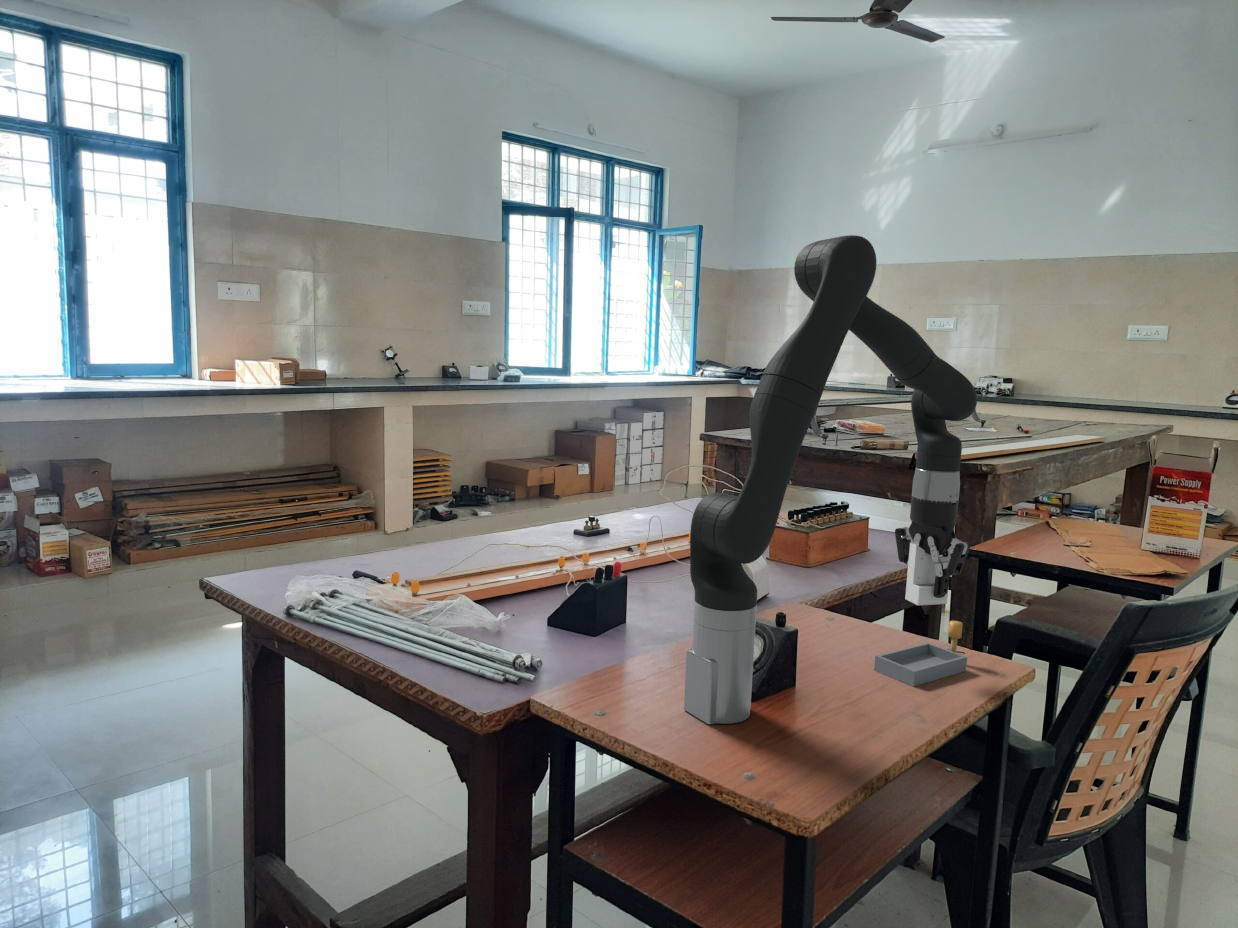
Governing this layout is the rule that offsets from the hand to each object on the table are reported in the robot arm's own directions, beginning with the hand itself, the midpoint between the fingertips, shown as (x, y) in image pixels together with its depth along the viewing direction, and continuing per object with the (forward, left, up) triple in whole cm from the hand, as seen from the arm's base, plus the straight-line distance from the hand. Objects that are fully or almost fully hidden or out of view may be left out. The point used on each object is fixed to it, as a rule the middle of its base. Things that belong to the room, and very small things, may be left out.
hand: (926, 592), depth 149 cm
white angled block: (0, 0, -2) cm, 2 cm away
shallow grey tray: (+2, 0, -14) cm, 14 cm away
